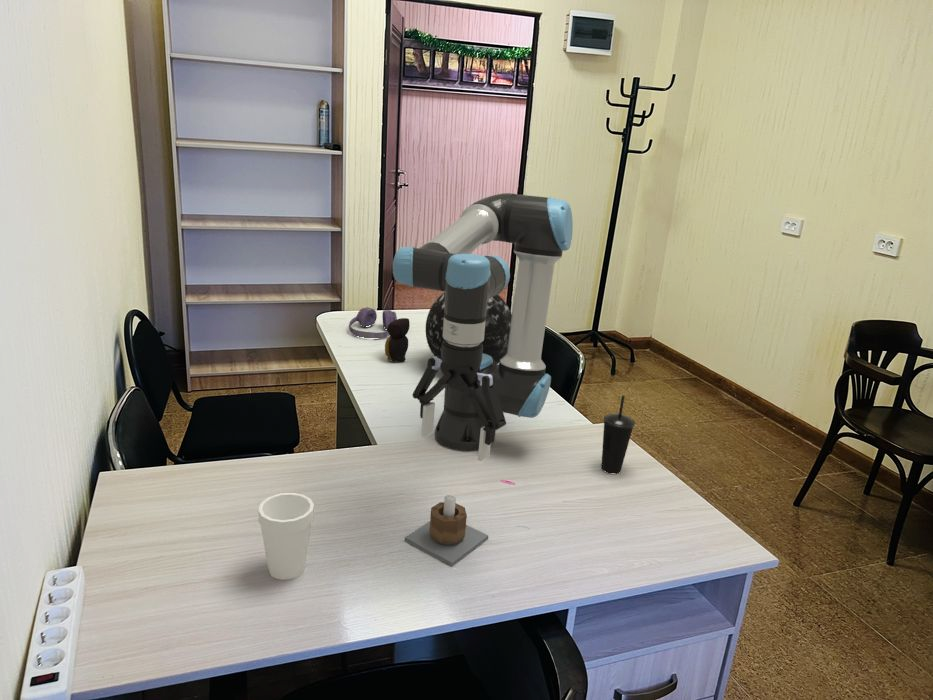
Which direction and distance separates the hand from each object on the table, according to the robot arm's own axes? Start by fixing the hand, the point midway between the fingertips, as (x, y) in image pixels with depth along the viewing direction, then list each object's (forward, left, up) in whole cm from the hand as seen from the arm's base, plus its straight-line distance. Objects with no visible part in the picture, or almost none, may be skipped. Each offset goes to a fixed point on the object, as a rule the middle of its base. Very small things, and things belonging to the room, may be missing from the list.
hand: (454, 446), depth 127 cm
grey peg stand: (0, 0, -21) cm, 21 cm away
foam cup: (-16, -27, -21) cm, 38 cm away
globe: (-55, +81, -21) cm, 100 cm away
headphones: (-106, +88, -21) cm, 139 cm away
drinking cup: (+12, +52, -21) cm, 57 cm away
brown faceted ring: (0, 0, -19) cm, 19 cm away
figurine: (-78, +71, -21) cm, 107 cm away
